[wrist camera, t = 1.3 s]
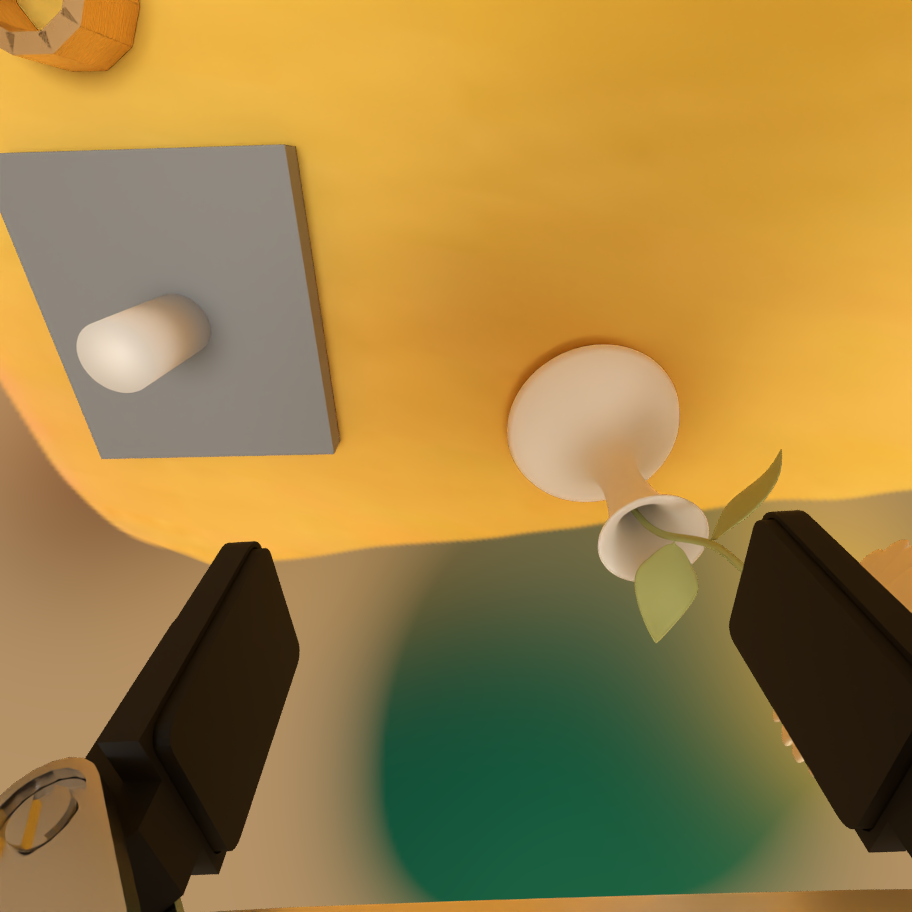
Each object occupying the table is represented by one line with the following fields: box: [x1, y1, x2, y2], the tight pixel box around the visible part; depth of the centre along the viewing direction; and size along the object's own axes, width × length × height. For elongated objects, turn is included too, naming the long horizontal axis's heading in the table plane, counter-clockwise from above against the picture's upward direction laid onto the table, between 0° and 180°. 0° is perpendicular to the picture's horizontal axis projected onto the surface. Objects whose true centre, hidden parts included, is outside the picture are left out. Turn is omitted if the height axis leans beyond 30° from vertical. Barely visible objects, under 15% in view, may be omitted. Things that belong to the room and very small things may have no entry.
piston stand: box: [0, 145, 340, 459], centre depth 28 cm, size 18×16×8 cm
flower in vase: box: [507, 344, 912, 777], centre depth 24 cm, size 13×11×25 cm
